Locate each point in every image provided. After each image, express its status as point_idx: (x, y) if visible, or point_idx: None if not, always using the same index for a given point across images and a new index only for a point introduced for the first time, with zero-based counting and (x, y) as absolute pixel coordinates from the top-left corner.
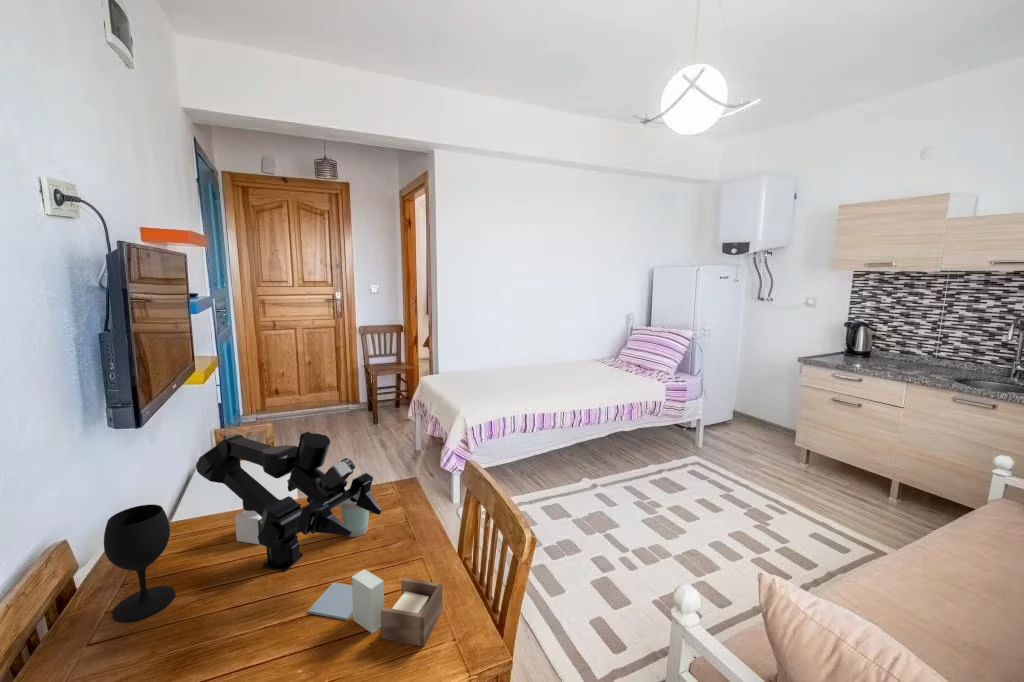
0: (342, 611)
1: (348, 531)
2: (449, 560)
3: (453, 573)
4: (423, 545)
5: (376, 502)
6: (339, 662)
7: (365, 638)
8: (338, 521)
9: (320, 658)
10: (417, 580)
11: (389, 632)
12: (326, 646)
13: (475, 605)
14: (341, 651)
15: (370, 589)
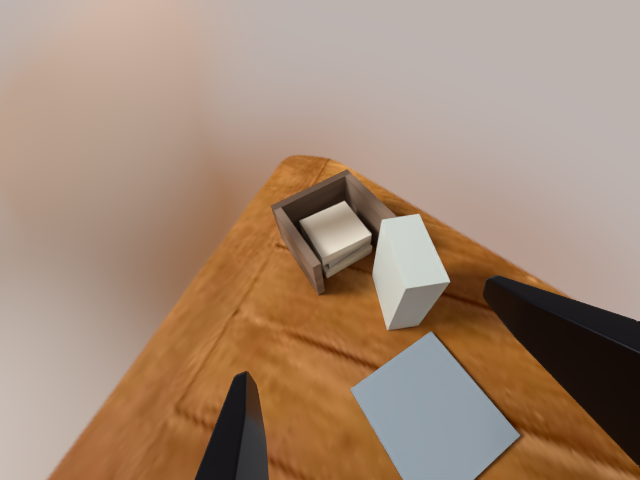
0: (435, 358)
1: (508, 280)
2: (155, 343)
3: (191, 299)
4: (118, 472)
5: (204, 456)
6: (465, 254)
7: None
8: (621, 327)
9: None
10: (295, 240)
11: None
12: (481, 298)
13: (241, 217)
14: (457, 270)
15: (419, 216)
